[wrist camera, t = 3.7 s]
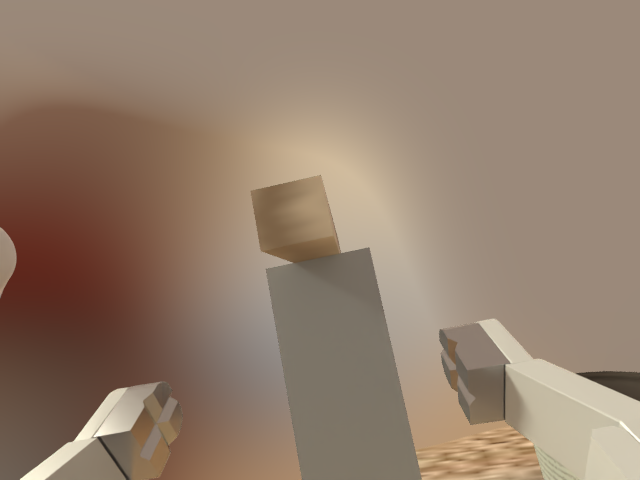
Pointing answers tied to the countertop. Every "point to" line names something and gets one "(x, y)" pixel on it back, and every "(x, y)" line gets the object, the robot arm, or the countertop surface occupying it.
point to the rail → (295, 220)
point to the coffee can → (622, 382)
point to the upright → (341, 370)
